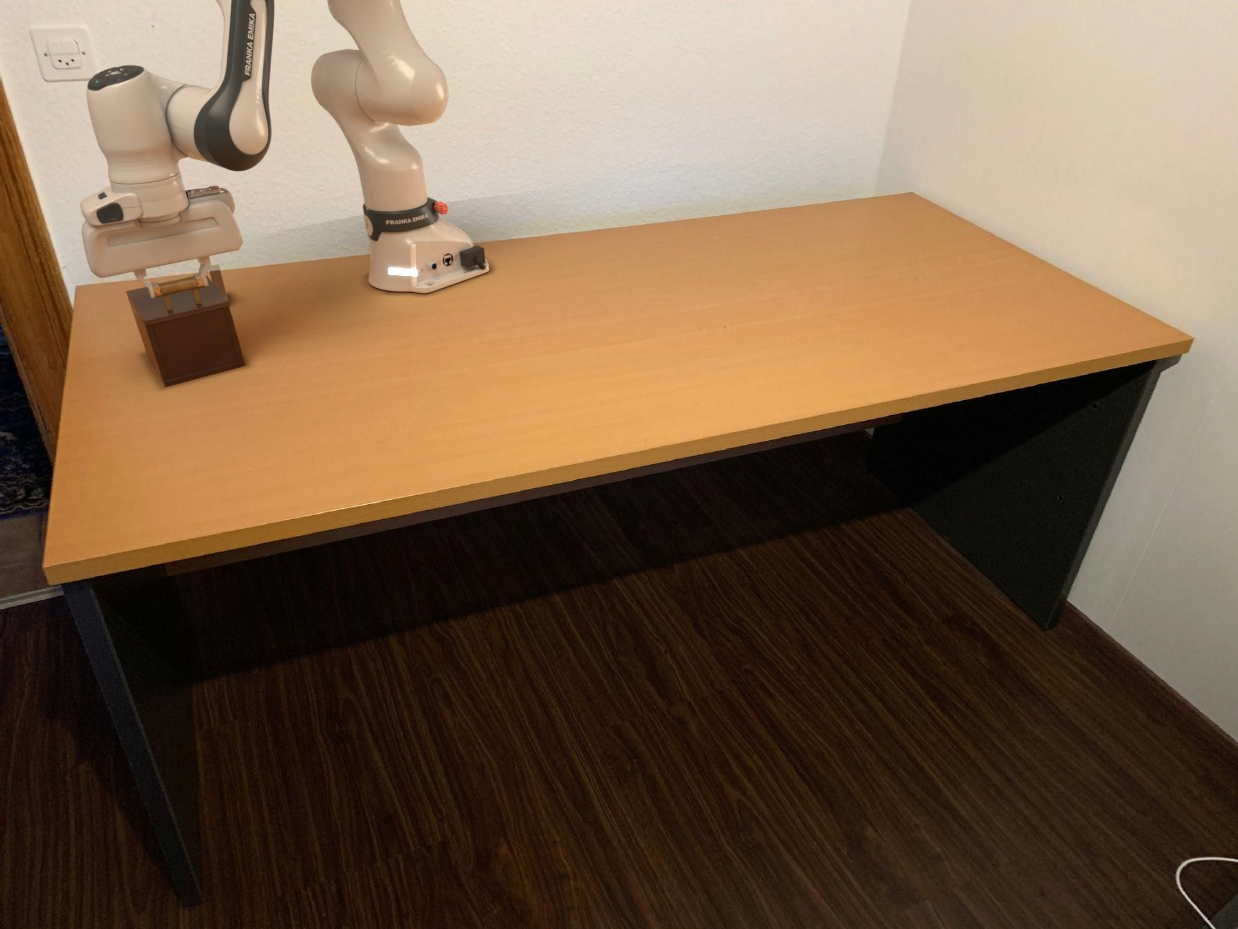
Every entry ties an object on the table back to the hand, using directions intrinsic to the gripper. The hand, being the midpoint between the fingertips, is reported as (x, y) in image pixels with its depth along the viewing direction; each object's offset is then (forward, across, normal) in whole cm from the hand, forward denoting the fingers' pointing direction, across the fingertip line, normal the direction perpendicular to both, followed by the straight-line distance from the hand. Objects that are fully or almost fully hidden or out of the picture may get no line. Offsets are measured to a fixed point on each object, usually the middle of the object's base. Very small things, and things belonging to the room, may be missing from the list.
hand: (179, 291), depth 133 cm
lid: (+3, 0, -5) cm, 6 cm away
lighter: (+13, -10, -26) cm, 30 cm away
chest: (+13, 0, -5) cm, 14 cm away
